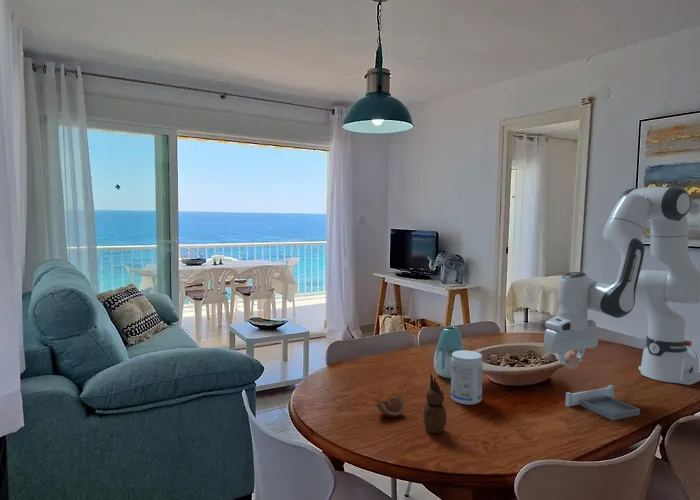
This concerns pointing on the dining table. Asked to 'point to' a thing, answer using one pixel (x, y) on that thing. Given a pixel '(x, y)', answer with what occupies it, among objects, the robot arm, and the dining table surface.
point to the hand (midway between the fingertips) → (570, 362)
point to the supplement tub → (466, 377)
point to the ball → (572, 361)
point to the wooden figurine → (434, 409)
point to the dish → (610, 407)
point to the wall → (588, 395)
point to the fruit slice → (391, 407)
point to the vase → (447, 350)
